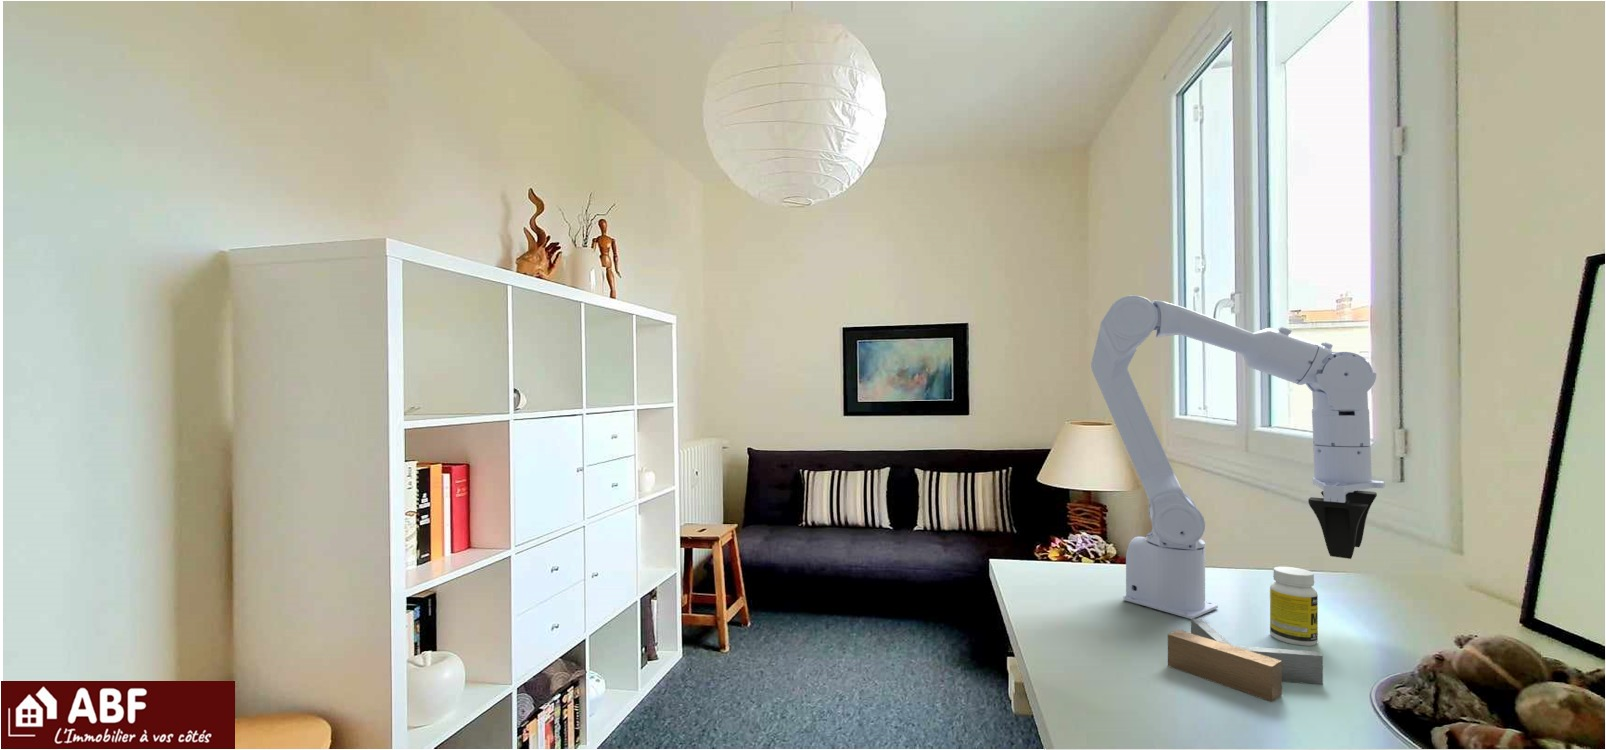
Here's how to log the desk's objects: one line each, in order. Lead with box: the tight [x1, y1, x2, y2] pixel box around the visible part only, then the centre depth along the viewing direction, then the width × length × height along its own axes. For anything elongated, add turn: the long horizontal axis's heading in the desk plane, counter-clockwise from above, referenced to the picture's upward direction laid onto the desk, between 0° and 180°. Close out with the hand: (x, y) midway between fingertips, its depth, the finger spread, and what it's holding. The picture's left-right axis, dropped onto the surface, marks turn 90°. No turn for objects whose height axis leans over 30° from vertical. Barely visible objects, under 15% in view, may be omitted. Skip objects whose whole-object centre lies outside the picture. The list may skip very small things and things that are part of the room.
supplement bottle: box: [1269, 566, 1319, 647], centre depth 80 cm, size 5×5×8 cm
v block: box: [1167, 618, 1324, 703], centre depth 71 cm, size 13×10×4 cm
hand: (1345, 551), depth 84 cm, fingers open, 7 cm apart
